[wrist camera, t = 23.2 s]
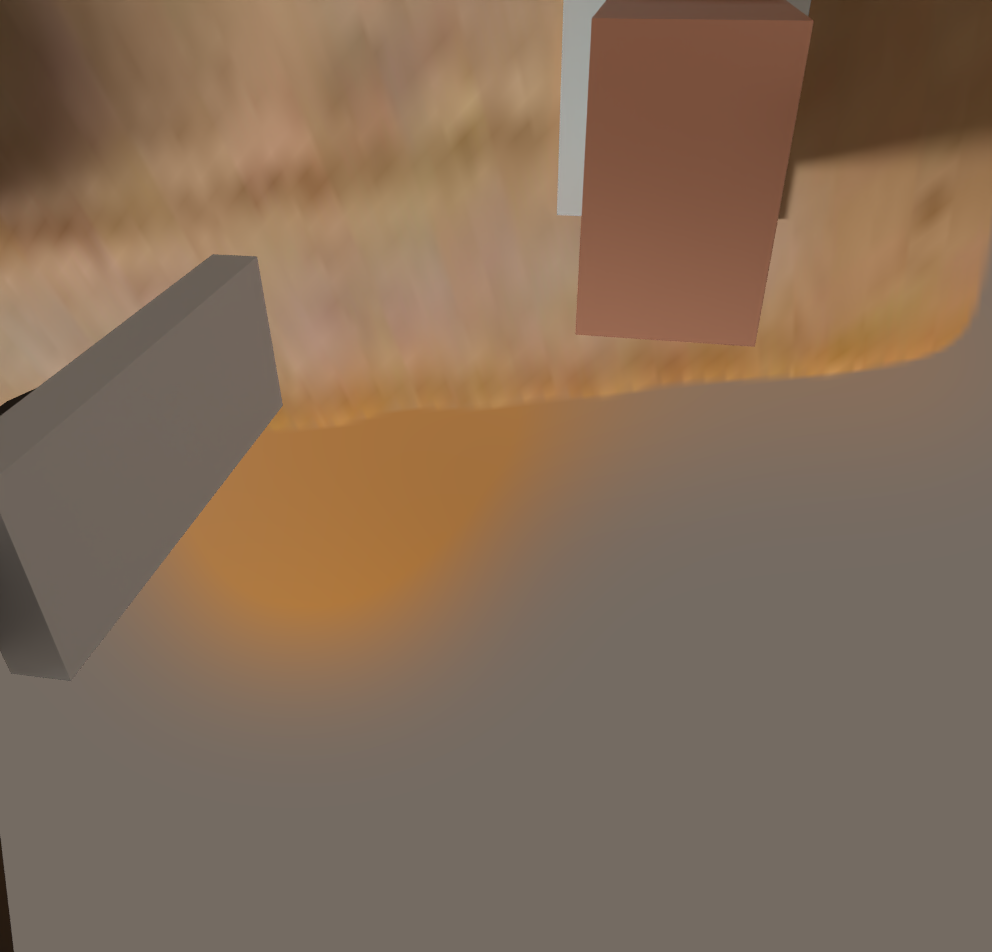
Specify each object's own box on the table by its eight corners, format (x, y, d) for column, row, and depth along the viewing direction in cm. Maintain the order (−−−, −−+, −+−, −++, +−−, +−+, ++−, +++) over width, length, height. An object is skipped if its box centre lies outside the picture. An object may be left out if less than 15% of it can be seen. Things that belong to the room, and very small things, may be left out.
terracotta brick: (592, 263, 29) (575, 334, 24) (608, -3, 24) (591, 18, 20) (740, 271, 28) (754, 346, 23) (784, -1, 24) (813, 21, 19)
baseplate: (558, 211, 41) (556, 215, 40) (567, -86, 34) (566, -86, 34) (770, 220, 39) (772, 224, 39) (824, -90, 33) (826, -89, 32)
